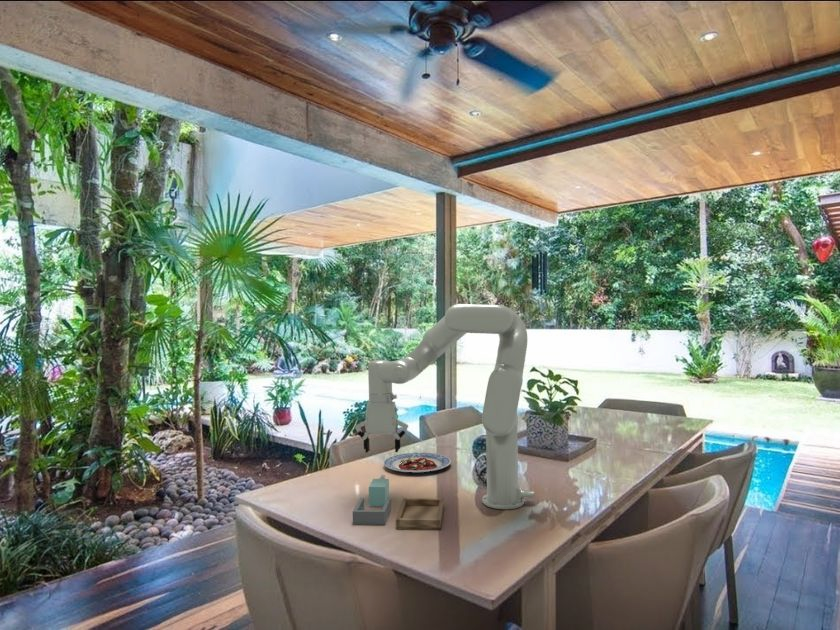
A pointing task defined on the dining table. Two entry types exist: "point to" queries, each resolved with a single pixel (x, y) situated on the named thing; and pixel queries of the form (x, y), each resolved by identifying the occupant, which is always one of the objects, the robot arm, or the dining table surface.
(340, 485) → the dining table surface
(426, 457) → the ceramic plate
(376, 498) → the mint green block
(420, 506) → the tray
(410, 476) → the dining table surface
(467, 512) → the dining table surface
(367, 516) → the bay
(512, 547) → the dining table surface
